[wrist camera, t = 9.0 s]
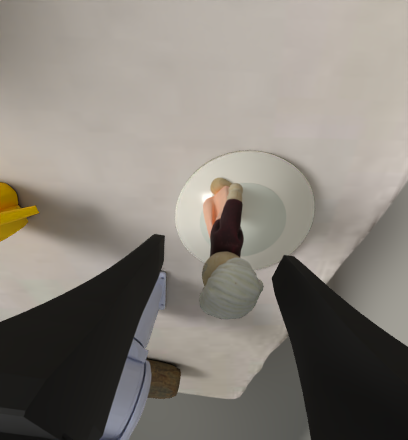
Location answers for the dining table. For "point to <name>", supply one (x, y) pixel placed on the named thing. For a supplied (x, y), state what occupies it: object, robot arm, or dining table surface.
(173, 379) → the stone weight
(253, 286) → the grandmother figurine
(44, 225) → the dining table surface
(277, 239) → the dish
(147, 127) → the dining table surface
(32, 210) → the yellow irregular piece
